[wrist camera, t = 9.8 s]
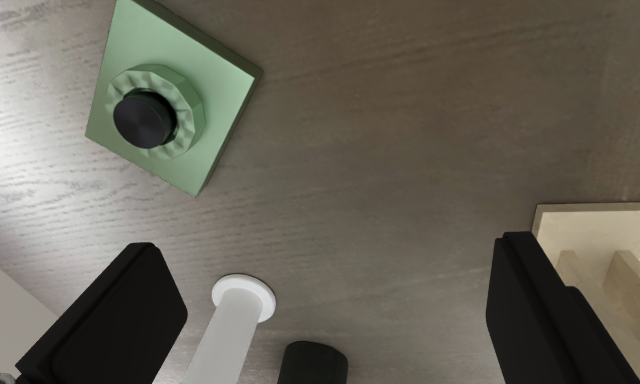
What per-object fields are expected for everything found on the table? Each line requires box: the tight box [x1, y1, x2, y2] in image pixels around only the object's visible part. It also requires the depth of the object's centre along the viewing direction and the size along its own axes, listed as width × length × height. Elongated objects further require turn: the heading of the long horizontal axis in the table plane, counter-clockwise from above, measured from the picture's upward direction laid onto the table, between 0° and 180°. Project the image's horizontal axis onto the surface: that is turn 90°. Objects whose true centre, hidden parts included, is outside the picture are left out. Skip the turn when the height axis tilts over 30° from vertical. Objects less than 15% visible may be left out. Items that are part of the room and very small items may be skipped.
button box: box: [85, 0, 263, 198], centre depth 27 cm, size 12×10×4 cm
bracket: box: [531, 202, 640, 380], centre depth 26 cm, size 12×9×13 cm
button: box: [113, 91, 177, 149], centre depth 25 cm, size 4×4×2 cm
